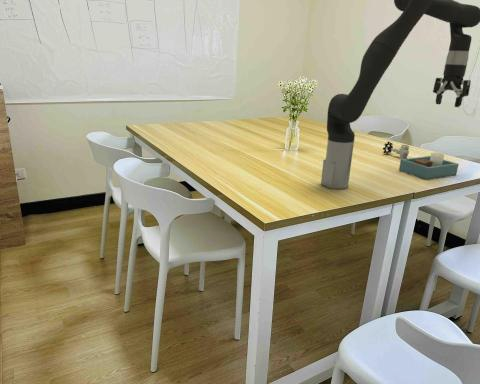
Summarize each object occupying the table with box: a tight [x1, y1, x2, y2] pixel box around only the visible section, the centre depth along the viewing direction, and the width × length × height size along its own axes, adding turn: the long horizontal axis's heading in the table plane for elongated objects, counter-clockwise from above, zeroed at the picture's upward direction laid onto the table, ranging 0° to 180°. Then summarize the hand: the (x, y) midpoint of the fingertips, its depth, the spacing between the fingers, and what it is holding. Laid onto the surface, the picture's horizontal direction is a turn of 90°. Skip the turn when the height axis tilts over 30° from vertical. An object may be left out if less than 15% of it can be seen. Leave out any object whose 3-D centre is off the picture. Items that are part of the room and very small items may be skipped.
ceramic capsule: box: [430, 152, 445, 167], centre depth 164 cm, size 5×5×7 cm
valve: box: [382, 141, 410, 160], centre depth 188 cm, size 7×7×12 cm
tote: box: [398, 155, 460, 181], centre depth 164 cm, size 18×14×5 cm
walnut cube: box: [414, 159, 433, 167], centre depth 162 cm, size 5×5×5 cm
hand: (447, 105), depth 157 cm, fingers open, 8 cm apart
